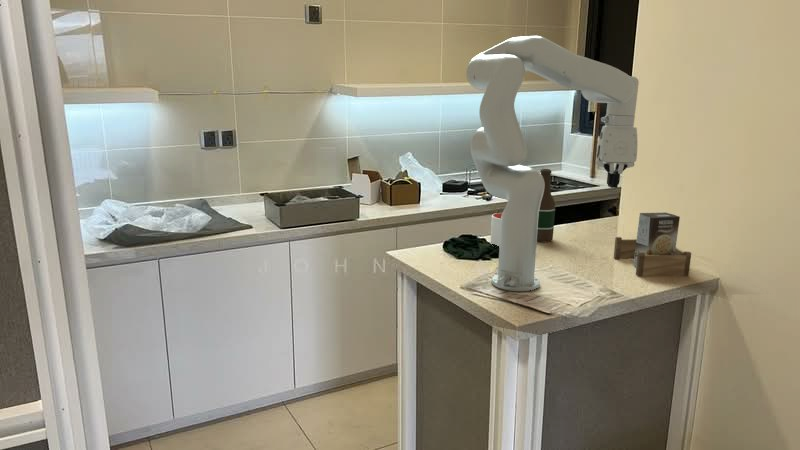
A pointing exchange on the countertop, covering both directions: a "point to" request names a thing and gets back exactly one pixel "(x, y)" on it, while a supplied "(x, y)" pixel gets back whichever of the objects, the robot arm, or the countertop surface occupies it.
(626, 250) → the crate
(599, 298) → the countertop surface
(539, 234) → the beer bottle
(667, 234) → the coffee box
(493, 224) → the cup
